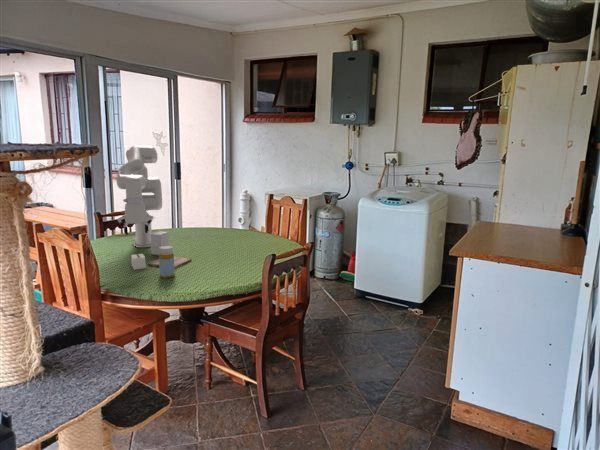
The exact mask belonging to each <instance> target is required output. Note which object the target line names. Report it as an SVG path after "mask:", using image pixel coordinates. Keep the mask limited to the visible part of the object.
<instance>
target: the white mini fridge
mask: <svg viewBox="0 0 600 450" xmlns="http://www.w3.org/2000/svg"><path fill="white" fill-rule="evenodd" d="M130 257H131V258H130V261H131V267H132V269H133V270H134V271H135V270H142V269H146V268H147V266H146V256H145V255H144V254H143V253H135V254H131V255H130Z"/></svg>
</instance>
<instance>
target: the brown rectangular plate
mask: <svg viewBox="0 0 600 450" xmlns="http://www.w3.org/2000/svg"><path fill="white" fill-rule="evenodd" d="M173 255H174V267H175V269H177V268H180V267H181V266H184V265H187V264H188V263H190V262H192V258H188V257H180V256H179V257H178V256H175V254H174V252H173ZM148 266H150V267H157V268H160V267H159V258H158V259H156V260H154V261H151V262H148Z"/></svg>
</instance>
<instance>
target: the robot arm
mask: <svg viewBox="0 0 600 450" xmlns="http://www.w3.org/2000/svg"><path fill="white" fill-rule="evenodd" d="M158 156H159V155H158V153H157V150H156V148H155V147H154V146H152V145H133V146H131V147H130V148H129V149H127V150H126V152H125V157H126V160H127V162H125V163H124V164H123V165H122V166H121V167H119V169H118V171H117V176H116V185H117V188H118V189H119V190H125V196H126V197H125V198H124V199H123V203H125V206H124V215H122V216H120V217H118V218H117V222H118V223H119V225H121V226H122V227H123V233H124V234H125V236H127V235H128V236H129V233H128V232H129V231H128V225H131V224H132V225H134V226H135V227H134V228H135V229H134V230H135V231H134V232H135V236H133V237H132V239H131V241H133V247H135V246H136V248H151V236H150V234H151V233H153V231H152V230H153V229H152V228H153V227H152V221H153V219H154V216H153V215H150V214H149V212H148V211H161V210H162V208H163V196H162V195H163V192H162V191H163V190H162V182H161V180H160V178H159V177H155V176H154V177H153V176H152V177H150V176H148V175H149V174H148V168H147V166H146V165H145V164H156V163H157V162H158ZM149 193H150V194H149ZM151 193H152V194H151ZM122 220H124V221H125V222H123V221H122Z"/></svg>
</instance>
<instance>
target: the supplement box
mask: <svg viewBox="0 0 600 450" xmlns="http://www.w3.org/2000/svg"><path fill="white" fill-rule="evenodd" d="M150 236H151V247H150V250H151V255H153V256H154V255H155V256H159V255H160V250H159V248H160V247H161V246H170V245H169V244H170V240H169V231H161V230H158V231H157V230H156V231H154V232H152V233H151V234H150Z"/></svg>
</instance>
